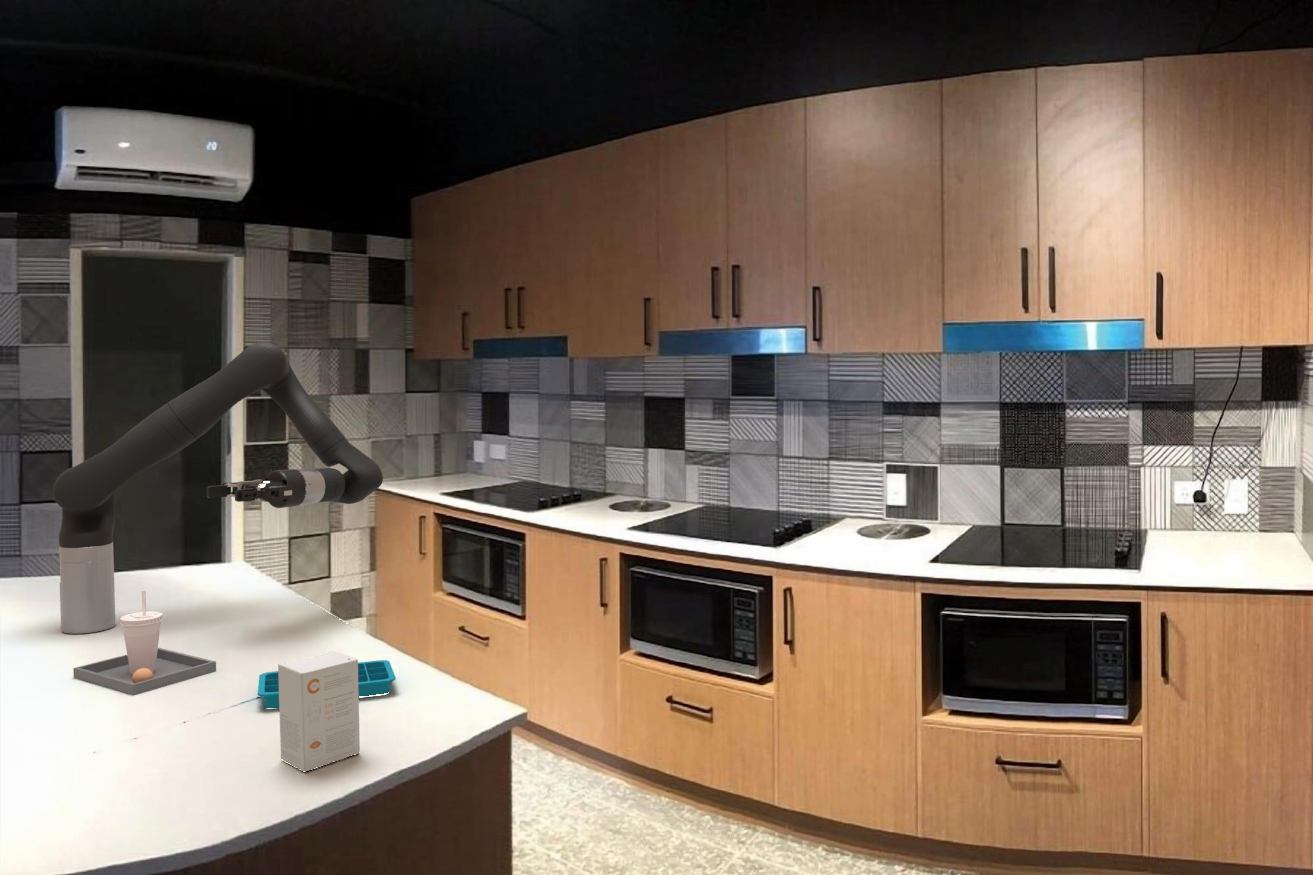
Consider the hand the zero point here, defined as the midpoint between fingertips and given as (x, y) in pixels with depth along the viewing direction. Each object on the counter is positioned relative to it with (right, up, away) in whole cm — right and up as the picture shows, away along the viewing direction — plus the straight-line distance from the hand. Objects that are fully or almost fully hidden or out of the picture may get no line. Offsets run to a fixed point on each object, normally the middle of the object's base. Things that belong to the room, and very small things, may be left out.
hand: (221, 494), depth 167 cm
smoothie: (-7, -30, -14) cm, 34 cm away
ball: (-2, -30, -22) cm, 37 cm away
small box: (+37, -32, -49) cm, 69 cm away
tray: (-5, -30, -15) cm, 34 cm away
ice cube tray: (+28, -31, -23) cm, 48 cm away
